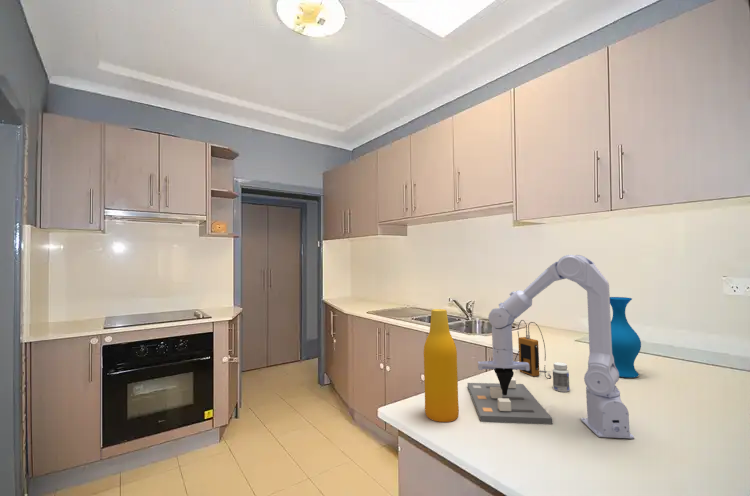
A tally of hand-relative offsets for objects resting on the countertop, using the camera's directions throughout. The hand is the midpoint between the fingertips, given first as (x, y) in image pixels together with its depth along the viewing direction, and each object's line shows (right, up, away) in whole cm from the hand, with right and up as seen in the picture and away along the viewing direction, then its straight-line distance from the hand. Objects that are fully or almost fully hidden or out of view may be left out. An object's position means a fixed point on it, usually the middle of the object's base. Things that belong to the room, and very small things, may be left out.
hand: (504, 394), depth 104 cm
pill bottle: (+22, -3, +10) cm, 25 cm away
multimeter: (+23, -4, +28) cm, 36 cm away
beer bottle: (-20, -3, -8) cm, 22 cm away
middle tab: (-2, -1, 0) cm, 3 cm away
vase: (+53, -3, +24) cm, 58 cm away
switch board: (0, -3, 0) cm, 3 cm away
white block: (-3, -1, -9) cm, 9 cm away
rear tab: (+5, -1, +8) cm, 10 cm away
